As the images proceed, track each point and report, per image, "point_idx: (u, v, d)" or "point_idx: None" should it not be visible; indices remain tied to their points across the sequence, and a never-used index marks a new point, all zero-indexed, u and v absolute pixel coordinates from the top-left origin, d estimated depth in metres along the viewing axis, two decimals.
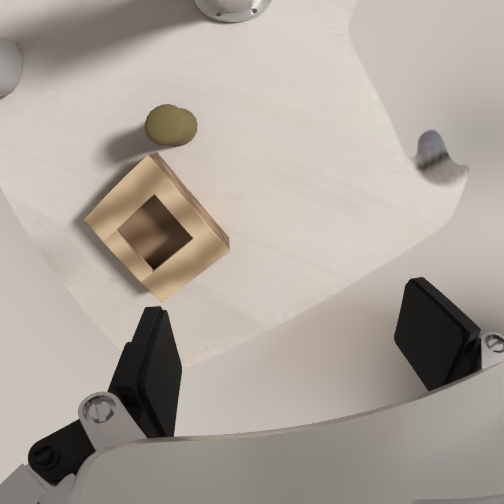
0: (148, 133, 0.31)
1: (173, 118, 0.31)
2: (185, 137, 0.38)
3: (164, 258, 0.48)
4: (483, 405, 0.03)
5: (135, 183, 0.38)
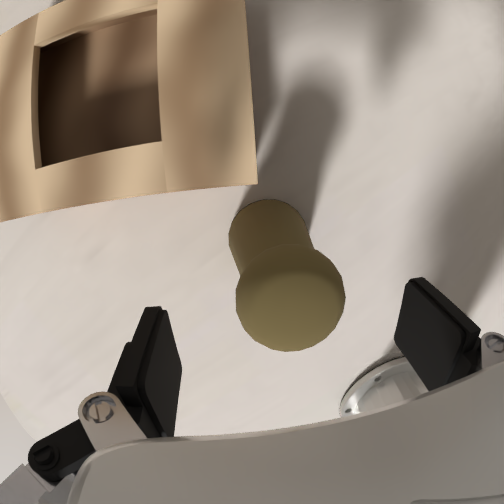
0: (305, 268, 0.12)
1: (290, 343, 0.13)
2: (237, 267, 0.18)
3: (64, 69, 0.16)
4: (483, 405, 0.03)
5: (217, 112, 0.14)
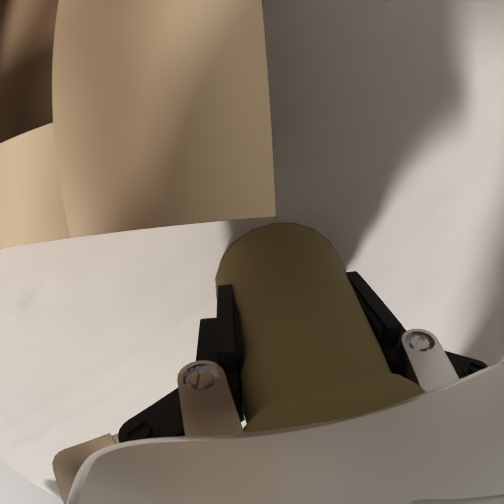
0: None
1: None
2: None
3: None
4: (483, 405, 0.03)
5: (175, 43, 0.05)
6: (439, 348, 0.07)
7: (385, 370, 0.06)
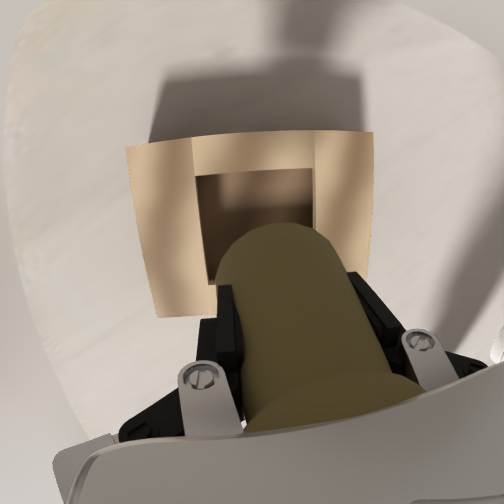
0: None
1: None
2: None
3: (196, 177, 0.25)
4: (483, 405, 0.03)
5: (349, 258, 0.23)
6: (439, 348, 0.07)
7: (386, 370, 0.06)
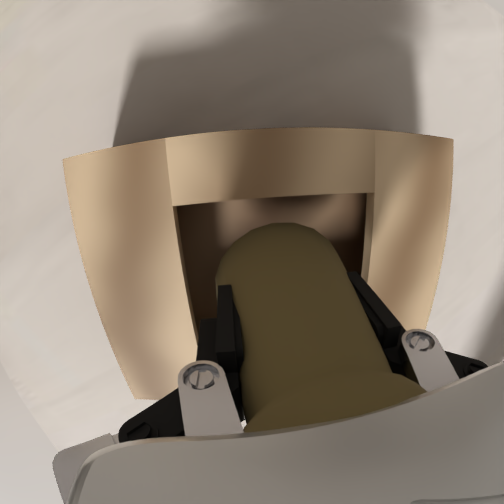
0: None
1: None
2: None
3: None
4: (483, 405, 0.03)
5: (405, 322, 0.15)
6: (439, 348, 0.07)
7: (386, 370, 0.06)
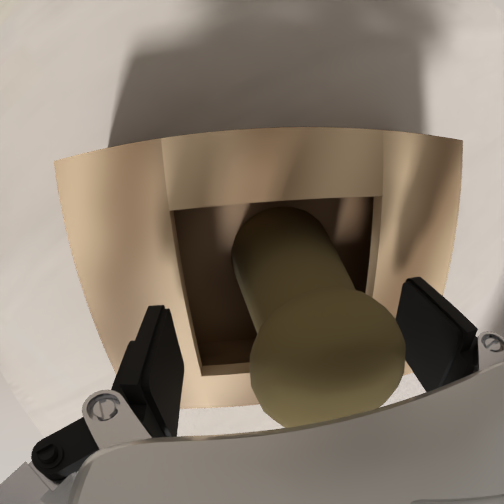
0: (363, 337, 0.07)
1: None
2: (245, 302, 0.14)
3: None
4: (483, 405, 0.03)
5: None
6: None
7: None
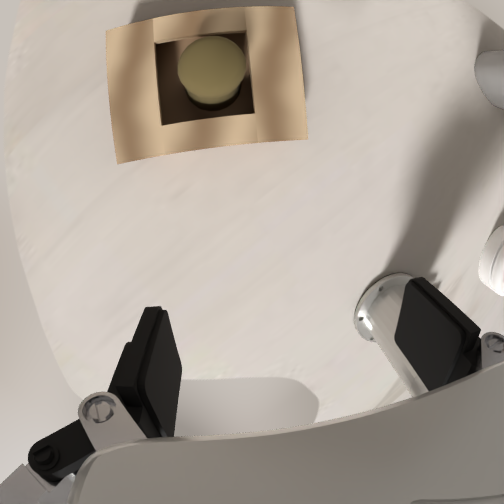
0: (214, 37, 0.17)
1: (208, 79, 0.18)
2: None
3: (159, 61, 0.25)
4: (483, 405, 0.03)
5: (286, 100, 0.24)
6: None
7: None
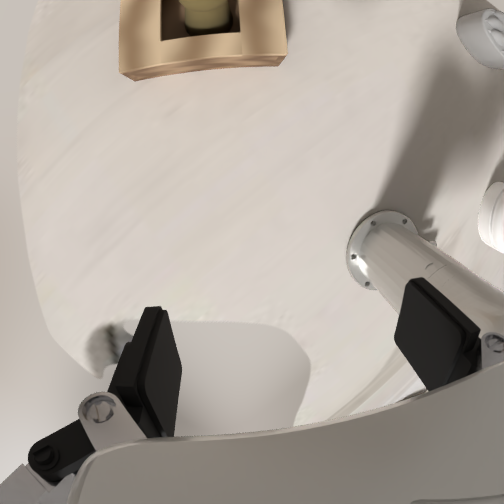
0: None
1: None
2: None
3: (164, 5, 0.26)
4: (483, 405, 0.03)
5: (268, 23, 0.24)
6: None
7: None
